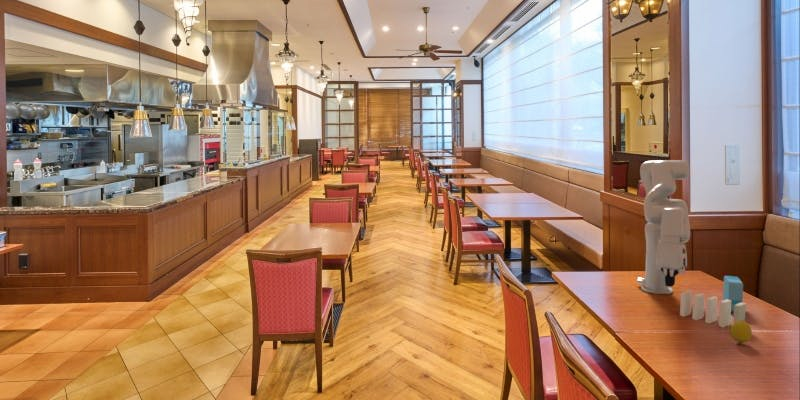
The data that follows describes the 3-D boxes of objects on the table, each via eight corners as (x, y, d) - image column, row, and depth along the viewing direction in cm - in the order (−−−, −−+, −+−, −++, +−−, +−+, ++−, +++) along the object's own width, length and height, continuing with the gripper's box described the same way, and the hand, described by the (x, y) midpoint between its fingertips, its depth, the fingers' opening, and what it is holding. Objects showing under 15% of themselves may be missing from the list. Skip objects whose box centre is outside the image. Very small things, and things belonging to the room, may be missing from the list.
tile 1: (679, 315, 185) (681, 292, 184) (686, 312, 188) (687, 290, 187) (684, 316, 184) (685, 293, 183) (690, 314, 187) (691, 291, 186)
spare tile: (732, 329, 170) (734, 305, 169) (739, 326, 173) (740, 302, 172) (738, 331, 169) (739, 306, 168) (744, 328, 172) (745, 303, 171)
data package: (741, 313, 186) (743, 283, 185) (727, 312, 188) (729, 282, 187) (735, 304, 197) (737, 275, 196) (722, 303, 199) (723, 274, 198)
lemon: (726, 340, 161) (727, 317, 160) (741, 340, 161) (743, 316, 161) (739, 347, 156) (740, 323, 155) (755, 346, 156) (756, 322, 155)
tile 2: (692, 318, 182) (693, 295, 181) (698, 316, 184) (700, 293, 183) (696, 320, 180) (698, 296, 179) (703, 317, 183) (704, 294, 182)
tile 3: (705, 322, 178) (706, 298, 177) (711, 319, 181) (712, 296, 180) (709, 323, 177) (711, 299, 176) (716, 320, 179) (717, 297, 178)
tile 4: (718, 326, 174) (720, 301, 173) (725, 323, 177) (726, 299, 176) (723, 327, 173) (725, 302, 172) (730, 324, 176) (731, 300, 175)
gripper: (696, 241, 184) (694, 288, 186) (657, 236, 196) (655, 280, 198) (686, 243, 180) (684, 291, 181) (647, 237, 192) (645, 283, 194)
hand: (669, 285), depth 190 cm, fingers closed
